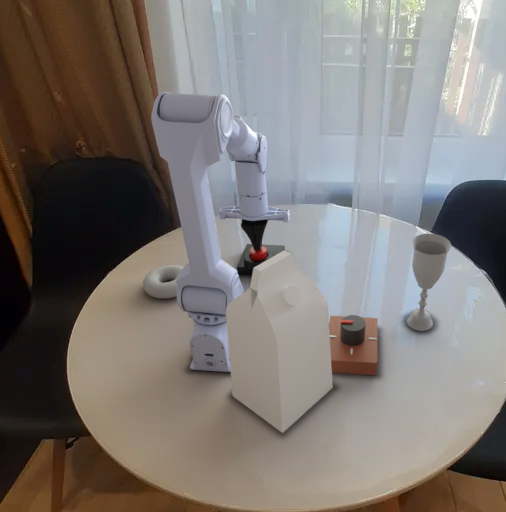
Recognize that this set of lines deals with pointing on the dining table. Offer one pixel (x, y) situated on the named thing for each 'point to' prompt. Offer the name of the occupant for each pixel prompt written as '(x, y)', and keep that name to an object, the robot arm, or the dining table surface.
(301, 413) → the milk
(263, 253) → the button
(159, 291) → the donut
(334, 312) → the dining table surface
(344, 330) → the timer knob
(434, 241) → the chalice
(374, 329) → the timer panel
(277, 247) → the control box
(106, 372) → the dining table surface
